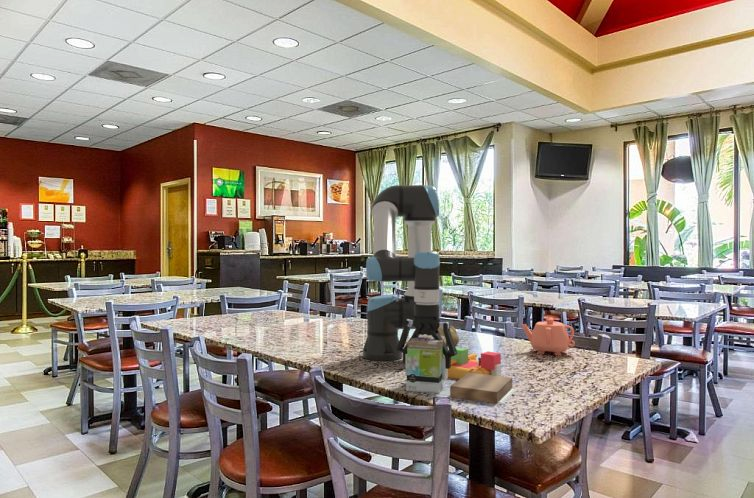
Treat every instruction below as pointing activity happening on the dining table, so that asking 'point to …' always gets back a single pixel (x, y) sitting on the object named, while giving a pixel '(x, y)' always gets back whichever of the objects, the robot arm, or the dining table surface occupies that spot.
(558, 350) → the teapot
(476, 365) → the raft
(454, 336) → the bread roll
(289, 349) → the dining table surface
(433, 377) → the tea box
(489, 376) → the pedestal
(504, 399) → the blueprint board
